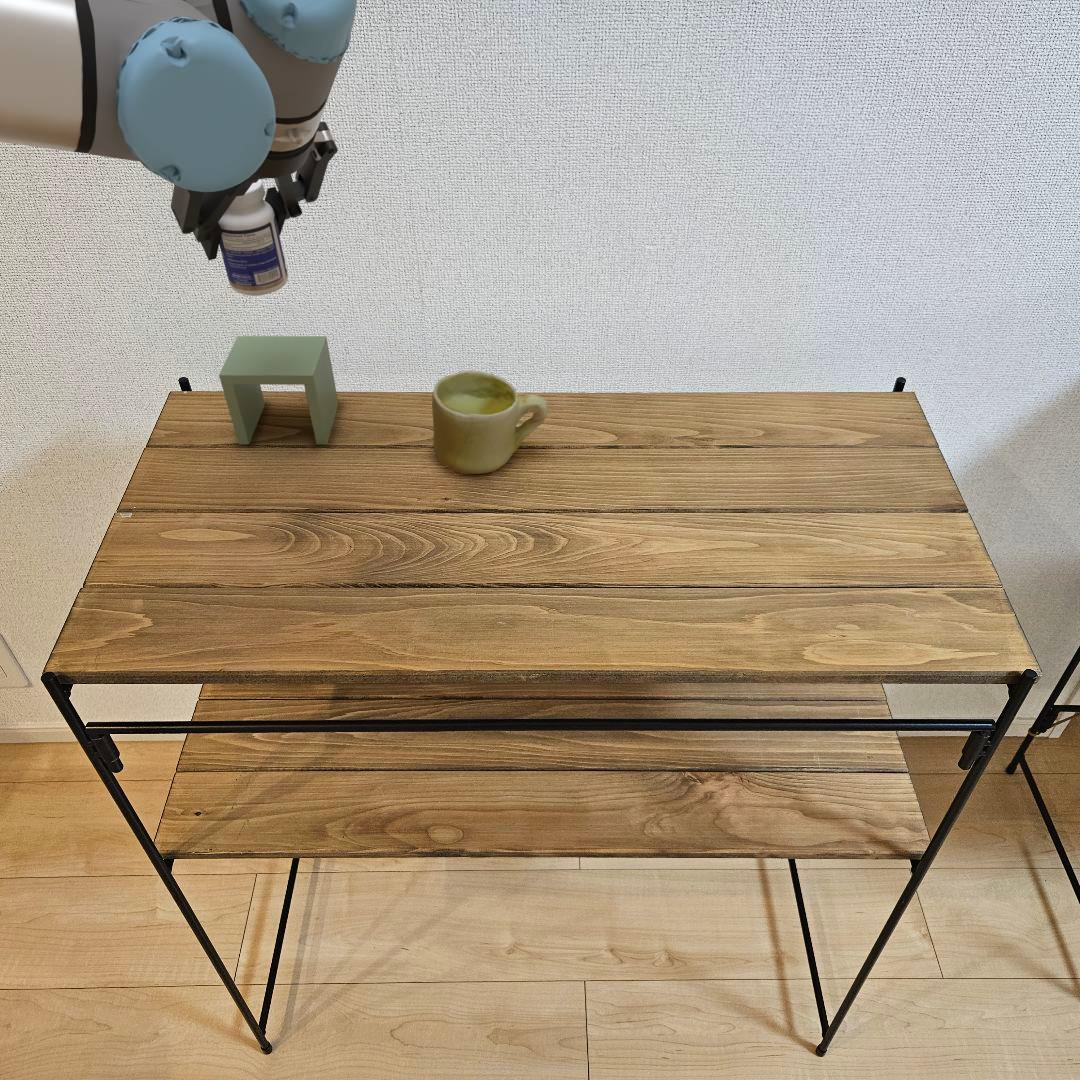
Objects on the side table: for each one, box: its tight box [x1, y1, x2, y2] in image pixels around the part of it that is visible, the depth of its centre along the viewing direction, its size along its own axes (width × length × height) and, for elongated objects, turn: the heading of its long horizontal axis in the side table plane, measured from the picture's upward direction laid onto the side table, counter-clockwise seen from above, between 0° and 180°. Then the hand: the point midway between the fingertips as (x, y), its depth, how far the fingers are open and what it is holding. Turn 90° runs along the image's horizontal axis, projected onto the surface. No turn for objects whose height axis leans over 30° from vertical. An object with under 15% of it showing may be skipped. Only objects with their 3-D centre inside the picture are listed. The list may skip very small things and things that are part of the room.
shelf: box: [218, 335, 340, 446], centre depth 100 cm, size 10×8×9 cm
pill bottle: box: [219, 179, 289, 297], centre depth 85 cm, size 6×6×10 cm
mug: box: [431, 370, 549, 475], centre depth 96 cm, size 12×10×10 cm
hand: (238, 238), depth 88 cm, fingers closed on pill bottle, 6 cm apart
